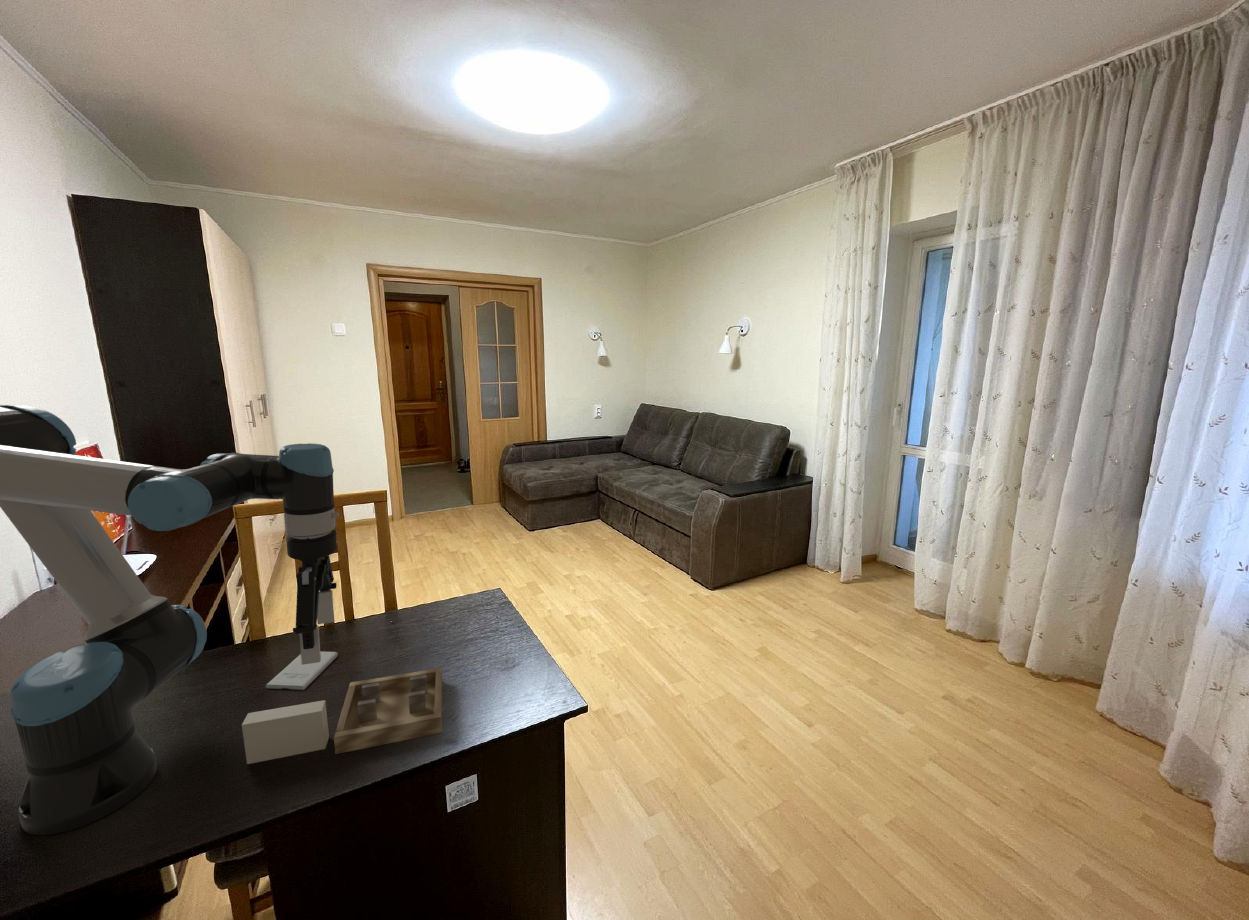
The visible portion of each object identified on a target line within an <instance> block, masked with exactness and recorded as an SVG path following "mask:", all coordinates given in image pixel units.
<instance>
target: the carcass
mask: <svg viewBox="0 0 1249 920" xmlns="http://www.w3.org/2000/svg"><path fill="white" fill-rule="evenodd" d="M342 705H343V706H342V708H341V711H340V716H339V719H338V722H337V726H336V729H335V732H334V735H333V742H334V753H335V755H339V754H342V753H348V752H354V751H357V750H364V749H368V748H372V747H377V746H383V745H387V744H393V743H398V742H403V741H407V740H412V739H417V738H422V737H423V738H424V737H428V736H432V735H433V736H434V735H437V734H442V730H443V729H442V724H443V721H442V720H443V719H442V718H443V716H442V715H443V667H438V668H431V669H426V670H420V671H419V670H418V671H414V672H413V671H411V672H408V673H406V672H405V673H400V674H394V675H389V676H381V677H378V678H377V677H376V678H371V679H364V680H358V681H352V682H351V681H350V682H349V684H348V689H347V692H346V695H345V698H344V703H343V704H342Z"/></svg>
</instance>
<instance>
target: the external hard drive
mask: <svg viewBox="0 0 1249 920" xmlns="http://www.w3.org/2000/svg"><path fill="white" fill-rule="evenodd" d="M320 654H321V661H320V662H318V663H311V664H304V665H302V661H301V653H300V654H299V655H298V656H297V657H295V659H294V660H292V661H291V662H290V663H289V664H288V665H287V666H286V667H284V668H283V670H281V671H280V672H279V673H278V674H276V675H275V677H273V678H272V679H271V680H270V681H269V682H268V683H267V684H266V685H265V688H266V689H277V690H278V689H279V690H283V689H288V690H295V691H297V690H299V691H300V690H301V691H304V690H305V689H306V688H308V687H309V685H310V684H311V683H313V681H314V680H315V679H316V678H317V677H318V676H320V675H321V673H322V672H324V670H325V669H326V668H327V667H328V666H329V665H330V664H331V663H332V662H333V661H334V660H336V658H337V657H338V656H339V655H338V652H336V651H321V650H320Z"/></svg>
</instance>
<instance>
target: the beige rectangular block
mask: <svg viewBox="0 0 1249 920" xmlns="http://www.w3.org/2000/svg"><path fill="white" fill-rule="evenodd" d="M326 702H327V701H326V699H324V700H317V701H313V702H306V703H301V704H295V705H289V706H282V707H277V708H271V709H264V710H259V711H252V712H248V713H247V715H246V716H245V719H244V720H243V722H242V724H241V729H242V737H243V744H244V752H245V758H246V759H245V760H246V764H247V765H250V764H255V763H256V764H257V763H260V762H266V761H270V760H276V759H281V758H286V757H291V756H297V755H301V754H306V753H311V752H315V751H316V752H317V751H321V750H326V748H327V745H328V741H329V738H330V735H329V733H330V732H329V724H328V723H329V722H328V714H327V703H326Z"/></svg>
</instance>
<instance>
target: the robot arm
mask: <svg viewBox="0 0 1249 920" xmlns="http://www.w3.org/2000/svg"><path fill="white" fill-rule="evenodd" d="M76 445H77V441H76V437H75V434H74V433H73V431H72V429H71V428H70V427H69V426H68V424H67V423H65V421H63V419H61V418H59V417H58V416H57V415H55V414H53V413H52V412H50V411H47V410H46V409H43V408H40V407H39V408H38V407H36V406H30V405H25V404H24V405H22V404H19V405H18V404H17V405H13V404H12V405H10V404H9V405H8V404H0V509H1V510H2V512H3V513H4V515H6V517H7V519H8V520H9V521H10V522H11V524H12V525H13V526H14V527H15V529H16V530H17V531H18V532H19V534H20V535H21V537H22V538H23V539H24V541H25V542H26V543H27V544H28V546H29V547H30V548H31V550H32V552H33V553H34V554H35V555H36V557H37V558H38V559H39V560H40V562H41V563H42V564H43V566H44V567H45V568H46V570H47V572H49V574H50V575H51V576H52V578H53V579H54V581H55V582H56V584H58V586H59V587H60V588H61V590H62V591H63V592H64V594H65V595H66V596H67V598H68V600H70V601H71V603H72V604H73V606H74V607H75V608H76V609H77V611H78V612H79V614H81V617H83V619H84V620H85V621H86V623H87V624H88V629H87V631H86V633H85V635H84V637H83V640H84V642H85V643H83V644H78V645H75V646H72V647H69V648H68V650H66V651H65V650H64V651H57V652H56V653H53V654H51V655H49V656H47V657H45V658H43V659H41V660H40V661H38V662H36V663H35V664H33V665H31V666H30V667H29V668H27V670H25V671H24V672H23V673H22V674H21V675H20V676H19V677H18V678H17V679H16V681H15V682H14V684H13V685H12V687H11V689H10V691H11V692H10V699H11V701H10V702H11V709H10V710H11V711H10V712H11V716H12V720H13V721H14V722H15V725H16V729H17V732H18V737H19V740H20V744H21V749H22V753H23V756H24V757H23V759H24V761H25V765H26V770H27V777H26V780H25V784H24V788H23V791H22V795H21V799H20V803H19V806H18V817H19V822H20V825H21V829H22V830H23V831H24V832H25V833H28V834H30V835H35V836H51V835H56V834H61V833H66V832H69V831H72V830H76V829H78V828H81V827H84V826H87V825H90V824H91V823H94V822H96V821H98V820H100V819H103V818H105V817H106V816H108V815H110V814H112V813H113V812H115V811H117V810H119V809H120V808H122V807H123V806H125V805H126V804H128V803H129V802H131V801H132V800H133V799H135V798H136V797H137V796H138V795H140V794H141V793H142V792H143V791H144V790H145V789H146V788H147V787H148V786H149V785H150V783H151V782H152V780H153V779H154V777H155V775H156V774H157V771H158V764H157V762H158V761H157V758H156V754H155V751H154V750H153V748H151V747H150V746H149V745H148V744H147V742H146V741H145V740H144V738H142V737H141V735H140V734H139V733H138V732H137V730H136V727H135V722H134V721H135V720H134V716H133V711H132V709H133V707H135V706H136V705H137V704H139V703H140V702H141V701H142V700H143V701H144V699H146V698H147V697H148V696H150V694H152V693H153V692H154V691H156V690H158V689H159V687H161V686H162V685H164V684H165V683H166V682H168V681H169V680H170V679H172V678H173V677H175V676H176V675H178V674H180V673H182V672H183V671H184V670H185V669H187V667H189V665H190V664H191V663H193V661H195V660H196V659H197V658H198V657H199V656H200V654H201V653H202V652H203V650H204V649H205V648H204V647H205V644H206V643H207V638H208V637H207V635H208V632H207V627H206V623H205V621H204V620H203V618H202V617H201V615H200V614H199V613H198V612H197V611H195V610H194V609H192V608H187V606H185V605H184V604H183V605H182V604H172V603H171V602H170V601H169V599H168V598H167V597H165V596H157V595H153V594H151V593H150V592H149V590H148V588H147V587H146V586H145V585H144V583H143V582H142V580H141V579H140V577H139V576H138V574H136V572H135V571H134V569H133V568H132V566H131V564H130V563H129V562H128V561H127V559H126V557H124V555H123V554H122V552H121V551H120V549H119V547H117V545H116V544H115V542H114V541H113V540H112V538H111V536H109V534H108V532H107V531H106V529H105V528H104V527H103V526H102V524H101V523H100V522H99V520H98V518H97V517H96V515H95V514H94V513H93V512H99V513H107V514H114V515H123V516H130V517H132V518H133V519H134V520H135V521H136V522H137V524H140V525H143V526H144V527H146V528H147V529H149V530H151V531H156V532H167V531H168V532H169V531H173V530H176V529H179V528H183V527H188V526H191V525H194V524H196V523H198V522H199V521H201V520H203V519H205V518H208V517H211V516H212V515H214V514H217V513H219V512H221V511H224V510H227V509H229V508H231V507H234V506H236V505H240V504H242V503H244V502H246V501H249V500H254V499H255V500H257V499H258V500H259V499H260V500H263V499H264V500H282V505H283V516H284V517H283V518H284V532H285V534H287V536H286V539H285V540H286V541H285V542H286V552H287V553H286V554H287V556H288V557H289V558H290V559H293V560H298V561H300V562H301V566H299V567H298V572H296V576H295V577H296V587H297V588H296V608H295V609H296V610H295V627H293V628H292V632H293V633H295V635H299V647H300V654H301V661H302V665H304V664H311V663H318V662H320V661H321V654H320V651H321V642H320V641H321V640H320V630H319V629H320V626H319V625H323V624H330V623H331V624H333V623H334V622H335V614H334V611H335V610H334V597H333V590H335V589H337V585H338V584H337V582H334V580H335V577H334V573H333V568H332V563H331V557H330V555H332V554H334V553H335V552H336V551H337V550H338V537H337V531H336V530H335V528H336V526H337V525H336V519H337V518H339V517H340V514H339V512H337V511H336V512H335V495H334V493H335V492H334V471H335V469H334V467H333V459H332V453H331V450H330V448H329V447H327V446H326V445H324V444H320V443H293V444H287V445H284V446H282V447H280V448H279V451H278V455H272V454H271V455H269V454H267V455H266V454H253V453H252V454H251V453H249V454H248V453H239V452H230V453H215V454H214V453H213V454H211V455H209V456H207V457H206V459H205V460H204V461H202V462H201V463H200V465H198V466H194V467H191V468H186V469H184V468H182V469H181V468H173V467H164V466H157V465H151V464H143V463H136V462H130V461H128V462H127V461H121V460H113V459H106V458H97V457H92V456H84V455H78V454H77V455H76V451H77V448H75V446H76Z"/></svg>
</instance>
